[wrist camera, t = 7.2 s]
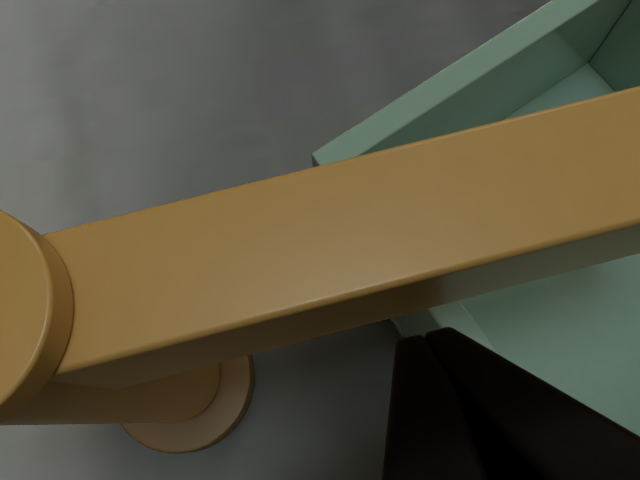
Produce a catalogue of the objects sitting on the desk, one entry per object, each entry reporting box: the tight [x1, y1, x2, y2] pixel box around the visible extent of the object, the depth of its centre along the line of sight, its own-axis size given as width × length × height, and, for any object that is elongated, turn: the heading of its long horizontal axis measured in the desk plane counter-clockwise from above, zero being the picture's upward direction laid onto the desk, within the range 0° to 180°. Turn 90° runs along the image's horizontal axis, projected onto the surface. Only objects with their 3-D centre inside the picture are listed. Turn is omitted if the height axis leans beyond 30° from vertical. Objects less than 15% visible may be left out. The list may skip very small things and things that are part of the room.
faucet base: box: [121, 355, 255, 453], centre depth 17 cm, size 4×4×1 cm
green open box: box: [312, 0, 640, 436], centre depth 15 cm, size 12×11×5 cm
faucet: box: [0, 86, 640, 425], centre depth 11 cm, size 16×3×11 cm, turn 104°
